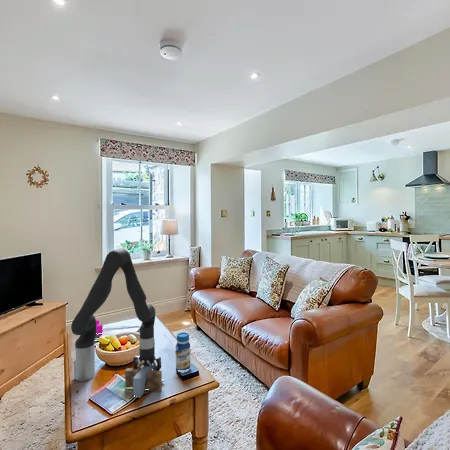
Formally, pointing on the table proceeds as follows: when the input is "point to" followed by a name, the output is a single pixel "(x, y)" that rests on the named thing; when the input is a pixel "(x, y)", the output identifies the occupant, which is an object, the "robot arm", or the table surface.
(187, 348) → the beverage bottle
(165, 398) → the table surface
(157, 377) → the u-shaped brown bracket
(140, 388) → the grey block
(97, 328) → the toy block
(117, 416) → the table surface
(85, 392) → the table surface
